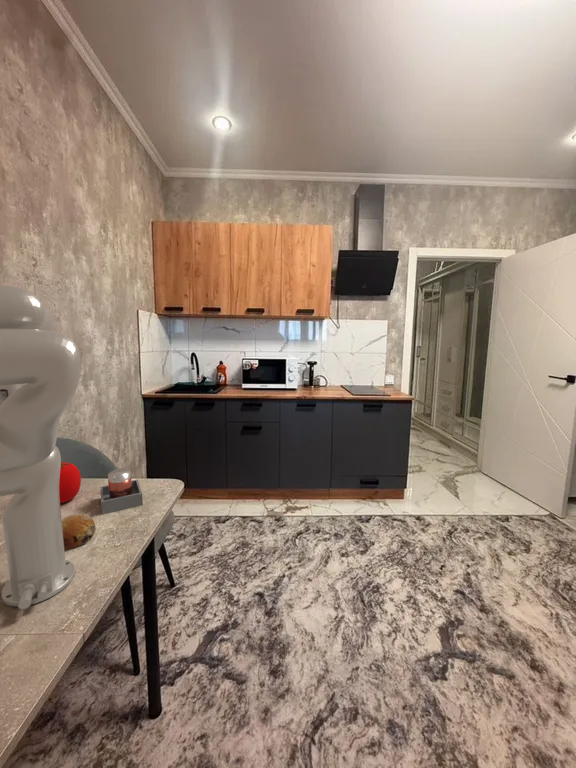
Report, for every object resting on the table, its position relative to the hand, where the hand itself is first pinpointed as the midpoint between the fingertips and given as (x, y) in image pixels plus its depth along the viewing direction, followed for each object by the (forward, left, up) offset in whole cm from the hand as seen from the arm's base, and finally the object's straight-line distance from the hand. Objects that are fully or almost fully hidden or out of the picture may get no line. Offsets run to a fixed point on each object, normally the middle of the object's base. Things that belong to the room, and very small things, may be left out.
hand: (13, 426), depth 84 cm
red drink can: (+5, -24, -29) cm, 37 cm away
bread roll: (-9, -11, -30) cm, 34 cm away
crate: (+6, -24, -30) cm, 38 cm away
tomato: (+16, -7, -30) cm, 35 cm away
